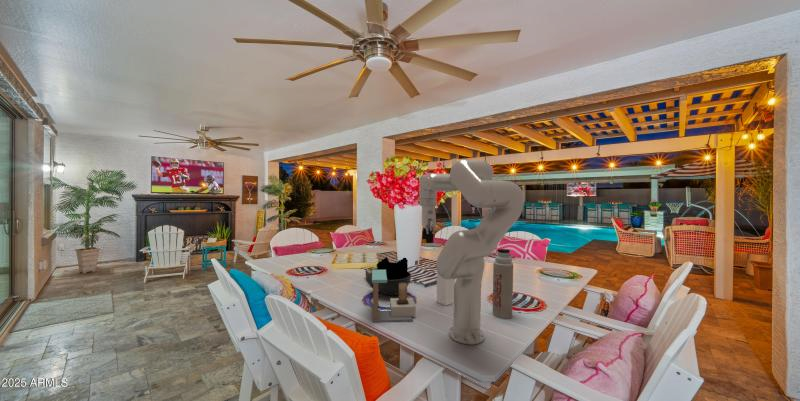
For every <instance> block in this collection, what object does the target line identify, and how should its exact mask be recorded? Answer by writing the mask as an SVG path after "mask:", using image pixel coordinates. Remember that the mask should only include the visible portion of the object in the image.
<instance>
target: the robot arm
mask: <svg viewBox="0 0 800 401" xmlns="http://www.w3.org/2000/svg"><path fill="white" fill-rule="evenodd" d="M493 177H494V168H493V166H492V165H491V164H490V163H489V162H486V161H483V160H475V159H474V160H473V159H459V160H457V161H455V162H454V163H453V165H452V166H451V168H450V172H449V173H438V172H437V173H436V172H435V173H434V172H433V173H428V174H422V175H420V178H419V206H420V207H421V226H422V231H421V233H422V234H421V236H422V237H421V238H422V240H425V243H426V244H434V241H435V240H434V236H435V235H434V230H435V229H436V228H437V222H436V219H437V215H436V214H437V213H436V207H437V206H438V205H437V203H438V202H437V201H438V200H437V199H438V196H437V195H438V192H458V191H459V192H460V193H461V195H462V196H463V197H464V199H465V200H466V202H468V203H469V204H470V205H472V206H473V207H475V208H479V209H480V208H481V209H489V208H491V209H492V210H491V211H489V212H488V213H486V214H485V215H484V216H483V217H482V219H481V220H480V221H479V223H478V224H477V226H476V227H475V228H472V229H464V230H456V231H455V232H453V233H452V234H450V236H449V237H448V238H447V240H446V241H445V243H444V245H443V247H442V248H441V250H440V251H439V254H438V256H437V258H436V262H435V267H436V273H437V272H438V274H439V275H440V276H441V277H443V278H445V279H455V285H454V303H453V320H452V321H453V326H452V327H450V328H449V330H448V335H449V337H450V339H452V340H453V341H455V342H456V343H460V344H465V345H478V344H481V343H482V342H483V341H484V340H485V337H486V336H485V333H484V332H483V330H481V304H482V297H481V296H482V281H483V275H484V274H483V273H484V270H485V259H484V258H485V257H489V256H490V255H491V254H492V253H493V251H494V250H495V249H496V247H497V246H498V245H499V243H500V242H501V241H502V240H503V238H504V237H505V235H506V234H507V233H508V231H509V230H510V229H511V228H512V227H513V226H514V225H515V224H516V222H517V221H518V219H519V218H520V217H521V215H522V212H523V211H524V210H523V209H524V205H525V196H524V192H523V190H522V188H521V187H520V185H518V184H517V183H515V182H513V181H509V180H503V179H502V180H501V179H500V180H498V179H497V180H495V179H493Z"/></svg>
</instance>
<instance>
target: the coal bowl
mask: <svg viewBox="0 0 800 401" xmlns="http://www.w3.org/2000/svg"><path fill="white" fill-rule="evenodd" d="M408 263H409V261H408V258H407V257H403V258H402V259H400V260H399V259H398V261H397V262H390V260H389V258H388V257H387V256H386V257H385V258H382V259H381V260H380V261H378V262H377V263H376V265H375V266H376V268H377V270H386V275H387V283H378V292H380V293H383V294H384V295H387V294H388V295H389V296H395V295H399V294H398V293H399V283H407V287H408V286H409V284H410V282H411V278H412V274H411V272H409V271H408V268H409V267H408ZM394 294H395V295H394ZM388 295H387V296H388Z"/></svg>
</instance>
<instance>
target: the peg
mask: <svg viewBox="0 0 800 401" xmlns="http://www.w3.org/2000/svg"><path fill="white" fill-rule="evenodd" d="M398 298H399V299H398V305H407V298H408V286H407V283H399V294H398Z"/></svg>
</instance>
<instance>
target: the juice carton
mask: <svg viewBox="0 0 800 401" xmlns="http://www.w3.org/2000/svg"><path fill="white" fill-rule="evenodd" d="M372 270H377V267H376V268H374V267H373V268H370V269H365V279H366V281H367V282H368V284H369V285H370V286H371V288H372V289H373V283H372Z"/></svg>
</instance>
